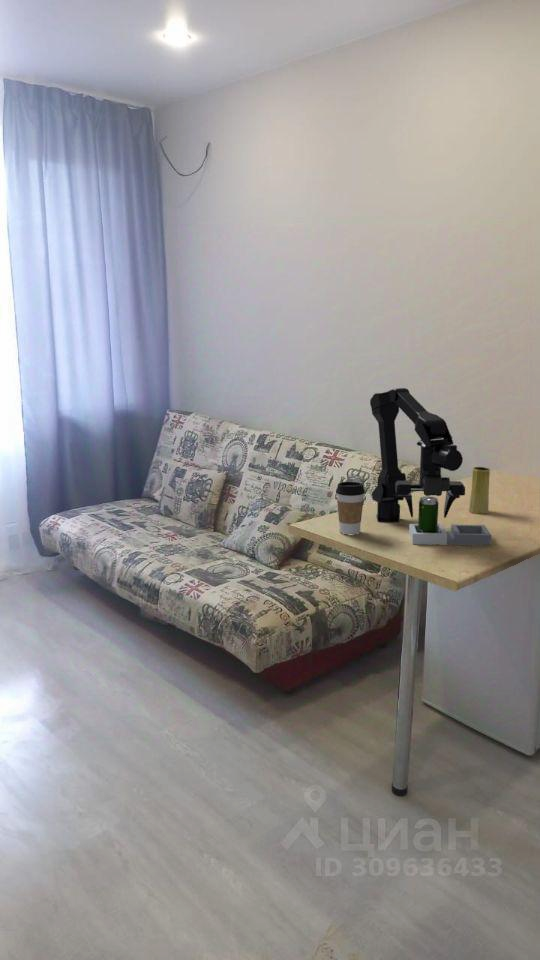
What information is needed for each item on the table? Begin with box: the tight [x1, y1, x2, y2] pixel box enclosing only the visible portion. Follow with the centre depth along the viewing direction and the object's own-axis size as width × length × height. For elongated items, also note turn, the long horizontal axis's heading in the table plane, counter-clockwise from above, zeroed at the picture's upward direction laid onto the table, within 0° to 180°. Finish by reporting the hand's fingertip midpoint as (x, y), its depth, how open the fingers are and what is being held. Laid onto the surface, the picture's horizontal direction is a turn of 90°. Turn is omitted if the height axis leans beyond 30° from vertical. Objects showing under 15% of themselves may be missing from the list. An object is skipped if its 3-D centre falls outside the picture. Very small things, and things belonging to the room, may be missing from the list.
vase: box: [468, 466, 491, 515], centre depth 224 cm, size 6×6×14 cm
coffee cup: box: [335, 481, 366, 535], centre depth 205 cm, size 8×8×15 cm
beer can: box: [417, 495, 439, 533], centre depth 198 cm, size 5×5×12 cm
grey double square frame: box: [408, 523, 492, 546], centre depth 199 cm, size 21×9×3 cm, turn 85°
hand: (428, 517), depth 198 cm, fingers open, 9 cm apart
